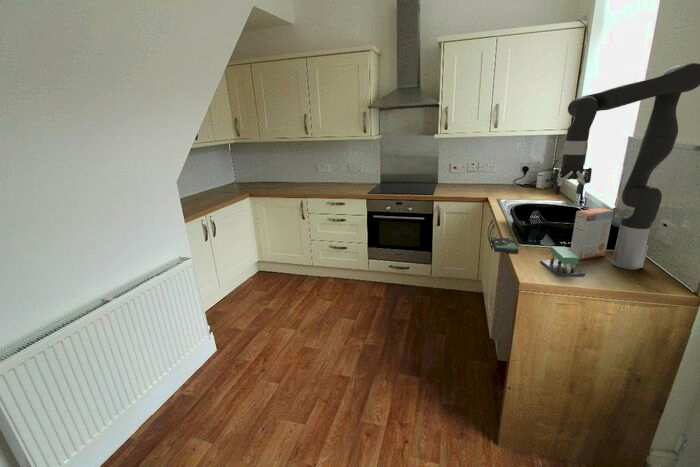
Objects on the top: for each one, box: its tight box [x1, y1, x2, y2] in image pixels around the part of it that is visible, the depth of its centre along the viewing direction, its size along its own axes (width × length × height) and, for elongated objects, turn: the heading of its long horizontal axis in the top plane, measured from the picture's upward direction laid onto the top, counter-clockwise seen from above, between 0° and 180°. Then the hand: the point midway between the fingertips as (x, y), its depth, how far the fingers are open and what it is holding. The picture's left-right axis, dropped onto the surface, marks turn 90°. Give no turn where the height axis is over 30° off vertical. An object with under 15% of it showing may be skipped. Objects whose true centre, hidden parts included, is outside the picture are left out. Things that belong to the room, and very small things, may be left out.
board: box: [550, 245, 579, 265], centre depth 137 cm, size 12×6×2 cm, turn 171°
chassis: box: [540, 253, 586, 278], centre depth 138 cm, size 10×14×5 cm
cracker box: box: [569, 207, 615, 261], centre depth 147 cm, size 14×6×21 cm, turn 105°
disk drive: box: [490, 236, 519, 254], centre depth 164 cm, size 10×3×15 cm
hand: (567, 194), depth 135 cm, fingers open, 8 cm apart
